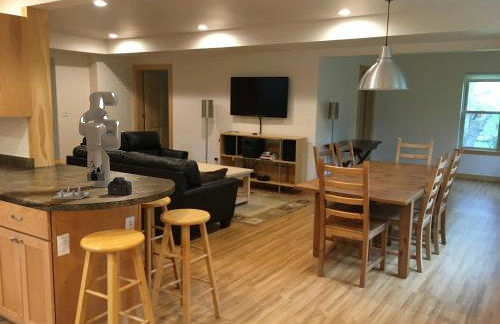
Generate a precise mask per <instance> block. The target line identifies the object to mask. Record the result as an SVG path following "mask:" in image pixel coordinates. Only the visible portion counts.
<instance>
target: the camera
mask: <svg viewBox="0 0 500 324" xmlns="http://www.w3.org/2000/svg"><path fill="white" fill-rule="evenodd" d="M132 193H133V185H132V181H130V180H126V179H125V177H124V176H114V178H113V179H112V180H110V183H109V184H108V187H107V194H108V195H115V196H116V195H119V196H130V195H132Z"/></svg>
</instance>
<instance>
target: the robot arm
mask: <svg viewBox="0 0 500 324" xmlns="http://www.w3.org/2000/svg"><path fill="white" fill-rule="evenodd" d="M88 99H89V109H88V110H87V111H85V112H84V113H83V114H82V115H81V117H80V118H79V123H78V134H79V135H80V136H82V137H85V138H86V139H85V140H86V151H87V155H86V156H87V168H88V169H89V172H91V180H92V181H91V182H93V183H91V187H92V188H98V189H99V188H108V184H109V183H110V182H111V169H110V165H111V163H110V156H109V155H108V153H107V152H106V151H116V150H119V149H120V148H121V144H122V143H121V140H122V139H121V136H122V135H121V134H122V131H121V130H122V127H121V123H120V121H119V120H117V119H109V113H108V112H107V110H106V107H117V106H118V104H119V96H118V94H117V92H115V91H94V92H92V93H90V95H89V97H88ZM91 121H93V122H91ZM96 172H105V181H97V173H96Z"/></svg>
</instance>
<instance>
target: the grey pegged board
mask: <svg viewBox="0 0 500 324" xmlns="http://www.w3.org/2000/svg"><path fill="white" fill-rule="evenodd" d="M87 196H89V191H87V192H86V191H85V190H82V191H81V186H77V192H76V190H75V189H72V190H71V191H70V187H69V186H66V191H65V192H64V189H60V191H59V192H56V195H54V196H53V197H52V200H81V199H83V198H86V197H87Z"/></svg>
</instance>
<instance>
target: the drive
mask: <svg viewBox="0 0 500 324" xmlns="http://www.w3.org/2000/svg"><path fill="white" fill-rule="evenodd" d="M96 173H97V181H105V172H96ZM86 177H87V178H86V180H87V182H93V181H92V180H91V171H89V172H87V173H86Z"/></svg>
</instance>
